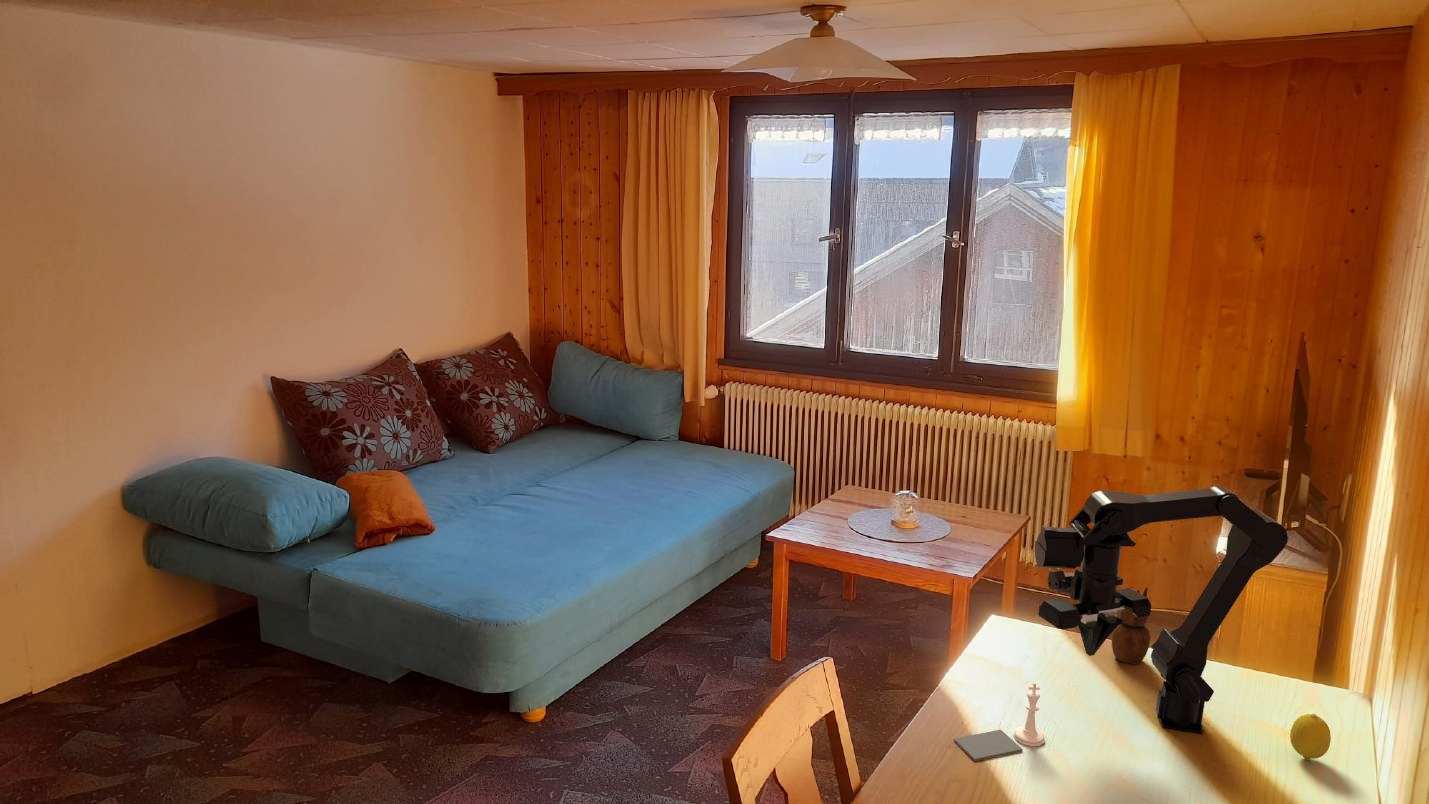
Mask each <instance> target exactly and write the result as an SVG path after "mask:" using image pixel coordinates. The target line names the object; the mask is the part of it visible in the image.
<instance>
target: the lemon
mask: <svg viewBox="0 0 1429 804" xmlns="http://www.w3.org/2000/svg"><path fill="white" fill-rule="evenodd" d="M1289 737H1290V743H1291V746H1292V748H1293V749H1294V751H1295V752H1296V753H1297V754H1298V755H1300V756H1302V757H1303V759H1304V760H1306V761H1307V760H1308V761H1309V760H1311V759H1313V760H1314V759H1319V758H1321V757H1323V756H1324V755H1326V754H1327V753H1328V751H1329V748H1330V744H1331V739H1332V737H1331V730H1330V727H1329V725H1328V724H1327V722H1326V721H1325V720H1324V719H1323V718H1321V717H1320V716H1318V715H1317V714H1315V713H1311V714H1310V713H1308V714H1303V715H1300V716H1298V717H1297V718H1296V719H1295V721H1294V722H1293V724H1292V727H1291V729H1290V735H1289Z"/></svg>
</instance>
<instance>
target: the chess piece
mask: <svg viewBox="0 0 1429 804" xmlns="http://www.w3.org/2000/svg"><path fill="white" fill-rule="evenodd" d="M1028 690H1029V691H1027V693H1026V696H1027V699H1028V703H1026V705H1025V709H1026V710H1028V712H1027V716H1026V721H1025V724H1024V725H1022V726H1018V727H1016V728H1015V729H1014V731H1013V738H1014V739H1015V741H1017V742H1018V743H1020V744H1022V745H1025V746H1028V747H1038V746H1041V745H1042V746H1043V744H1044V743H1045V742H1046V741H1045V734H1044V733H1043V731H1041V730H1040V729H1038V728H1037V727H1036V712H1038V711H1039V710H1040V707H1039V705H1037V704H1038V701H1039V699H1040V698H1041V694H1040V692H1038V691H1040V690H1041V686H1040V685H1037V683H1036V682H1032V685H1028Z"/></svg>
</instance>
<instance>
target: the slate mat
mask: <svg viewBox="0 0 1429 804" xmlns="http://www.w3.org/2000/svg"><path fill="white" fill-rule="evenodd" d="M953 741H955V742H954V743H955V744H956V745H957V746H959V748H961V749H962V751H964V752H965V753H966V754H967V756H969V758H970V759H972V760H973V761H974V762H976V761H983V760H988V759H991V758H997V757H1001V756H1005V755H1010V754H1016V753H1020V752H1023V748H1022V747H1021V746H1020V745H1019V744H1018V743H1016V741H1014V740H1013V739H1012V738H1011V737H1010V736H1008V735H1007V734H1006V733H1005V732H1004V731H1003V729H996V730H991V731H986V732H980V733H975V734H971V735H965V736H961V737H960V736H959V737H956V738H953Z"/></svg>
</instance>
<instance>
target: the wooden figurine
mask: <svg viewBox="0 0 1429 804" xmlns="http://www.w3.org/2000/svg"><path fill="white" fill-rule="evenodd" d="M1136 592H1138V593H1140V589H1137V590H1136ZM1140 594H1141V593H1140ZM1142 595H1143V596H1145V597H1147V596H1148V587H1145V589H1144V591H1143V592H1142ZM1147 598H1148V597H1147ZM1132 609H1133V607H1132V608H1128V609H1122V610H1119V612H1118V613H1119V618H1120V619H1121V620H1123V623H1122V624H1120V625H1118V626H1117V627H1116V628H1115V629H1114V631H1113V632H1112V633H1111V639H1110V640H1111V648H1112V654H1113V655H1114V657H1115V658H1116V659H1117V660H1118V661H1120V662H1123V663H1125V664H1133V665H1134V664H1140V663H1141V662H1143V660H1144V659H1145V658H1146V656H1147V653H1148V651H1149V648H1150V642H1151V637H1152V636H1151V631H1150V629H1149V628H1148V626H1147V625H1146V623H1147V622H1148V619H1149V618H1148V617H1149V616H1144V617H1136V616H1135V615H1134V614H1133V613H1132Z"/></svg>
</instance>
